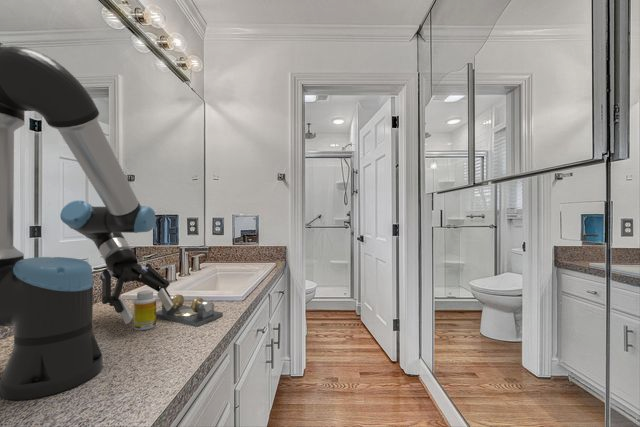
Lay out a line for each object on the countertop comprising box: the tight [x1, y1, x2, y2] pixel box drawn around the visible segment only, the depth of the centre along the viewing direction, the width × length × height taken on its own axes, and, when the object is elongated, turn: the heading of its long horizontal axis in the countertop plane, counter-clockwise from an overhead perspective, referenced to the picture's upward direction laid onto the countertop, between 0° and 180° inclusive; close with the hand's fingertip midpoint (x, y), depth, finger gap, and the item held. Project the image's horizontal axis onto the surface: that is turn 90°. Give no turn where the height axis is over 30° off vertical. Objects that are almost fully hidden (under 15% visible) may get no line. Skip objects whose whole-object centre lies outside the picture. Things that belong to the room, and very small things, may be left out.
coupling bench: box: [156, 294, 224, 328], centre depth 96 cm, size 10×20×6 cm, turn 64°
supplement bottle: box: [133, 289, 157, 331], centre depth 86 cm, size 6×6×10 cm
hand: (151, 313), depth 85 cm, fingers open, 11 cm apart
